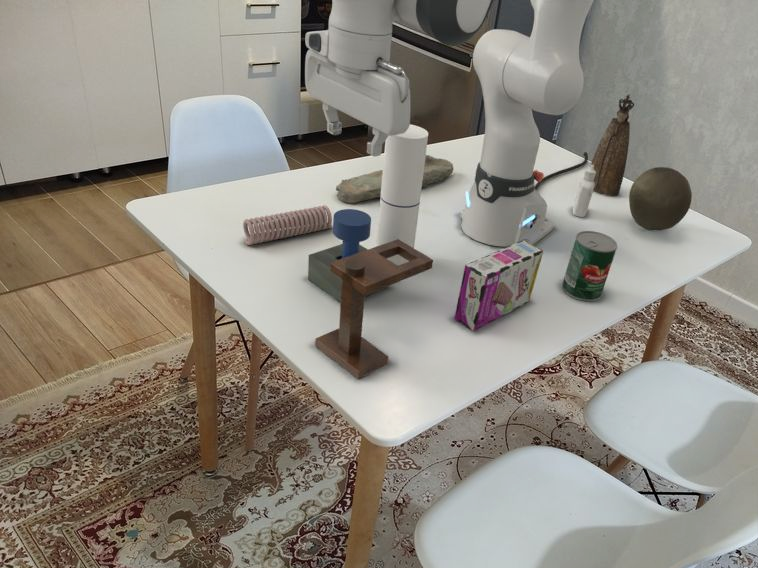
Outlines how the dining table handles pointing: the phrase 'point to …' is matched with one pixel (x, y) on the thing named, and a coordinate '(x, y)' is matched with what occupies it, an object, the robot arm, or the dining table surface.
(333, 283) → the holder
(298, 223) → the coil
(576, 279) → the canned tomato
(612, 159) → the statue
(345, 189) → the elongated rock
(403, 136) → the cylindrical container
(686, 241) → the dining table surface
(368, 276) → the stand
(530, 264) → the candy bar box
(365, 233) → the peg
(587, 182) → the eye dropper bottle
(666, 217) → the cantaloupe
